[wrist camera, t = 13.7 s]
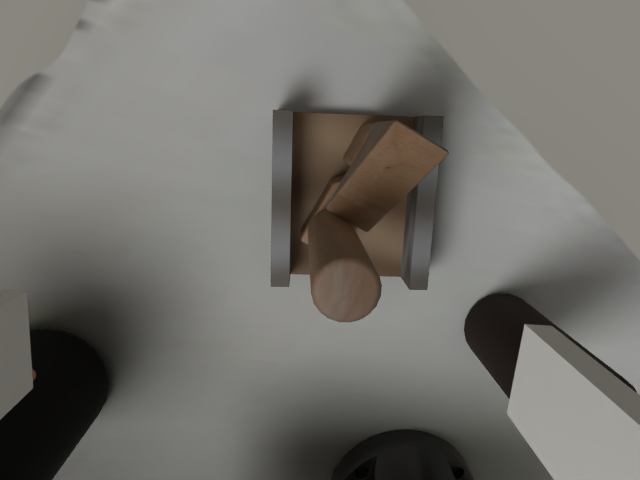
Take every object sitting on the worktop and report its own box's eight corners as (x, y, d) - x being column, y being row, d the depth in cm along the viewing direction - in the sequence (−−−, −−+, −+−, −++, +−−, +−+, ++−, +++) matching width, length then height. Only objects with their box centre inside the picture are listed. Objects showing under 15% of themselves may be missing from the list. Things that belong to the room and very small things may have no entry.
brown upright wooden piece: (399, 143, 39) (477, 155, 22) (334, 250, 41) (359, 340, 24) (361, 121, 39) (411, 114, 21) (298, 230, 41) (296, 307, 23)
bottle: (532, 288, 44) (716, 415, 24) (531, 353, 45) (703, 521, 26) (461, 295, 44) (589, 428, 24) (463, 360, 45) (583, 534, 26)
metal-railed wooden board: (414, 273, 43) (427, 289, 39) (274, 270, 42) (270, 286, 38) (427, 117, 40) (443, 116, 35) (276, 111, 39) (273, 109, 35)
